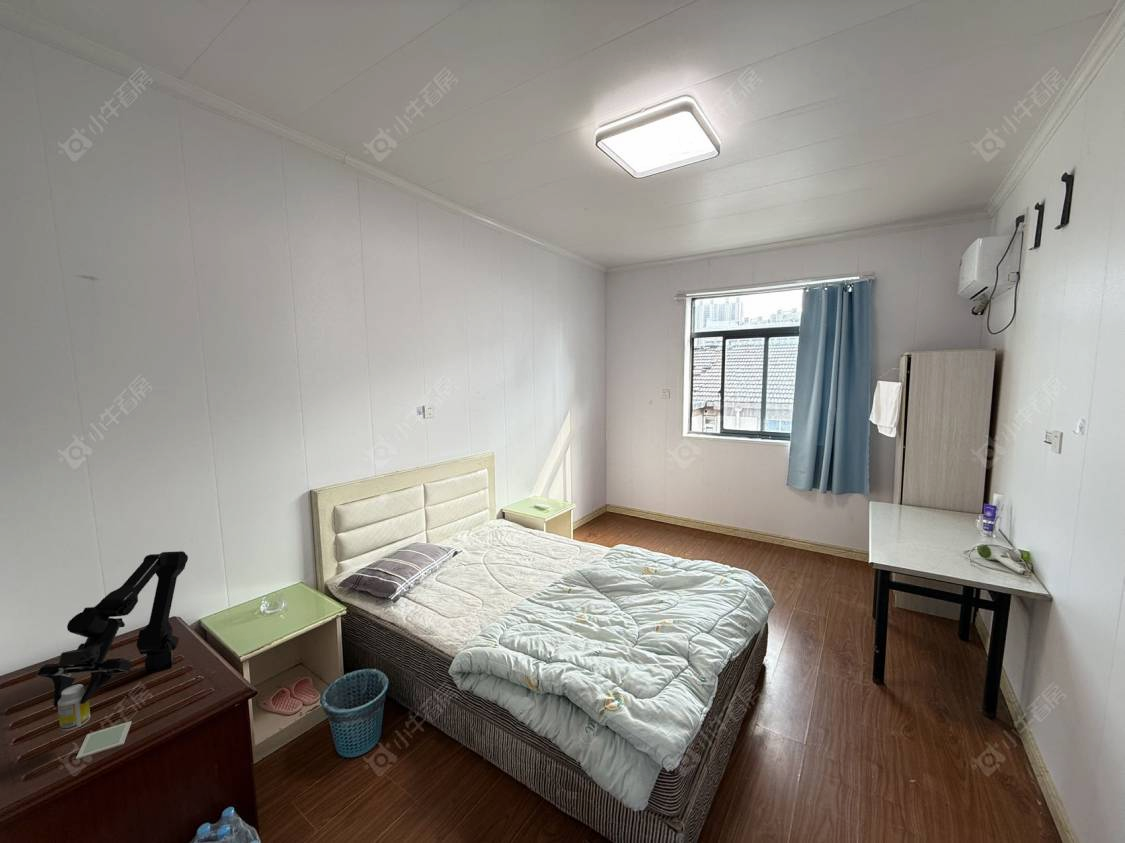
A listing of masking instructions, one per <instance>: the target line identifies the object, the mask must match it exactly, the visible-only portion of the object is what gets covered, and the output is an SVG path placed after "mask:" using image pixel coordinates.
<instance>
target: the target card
mask: <svg viewBox="0 0 1125 843" xmlns="http://www.w3.org/2000/svg"><path fill="white" fill-rule="evenodd" d="M131 724H132V720H130V721H126V722H123V723H120V724H116V725H113V726H111V727H107V728H103V729H101V730H97V731H94V732H91V733H87V734H86V736H85V738H84V740H83V743H82V744H81V746H80V749H79V751H78V753H77V755H76V757H75V760H79V759H83V758H85V757H89V756H92V755H95V754H98V753H101V752H104V751H107V750H111V749H113V748H117V747H119V746H123V745H124V744H125V742H126V738H127V736H128V734H129V732H130V731H129V730H130V728H131Z"/></svg>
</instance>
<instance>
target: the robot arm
mask: <svg viewBox="0 0 1125 843" xmlns="http://www.w3.org/2000/svg"><path fill="white" fill-rule="evenodd" d="M188 560H189V557H188V554H187V553H186V552H185V551H183V550H181V551H179V550H178V551H161V553H154V554H147V555H146V556H144V558H143V561H142V562H141V563H140V565H139V566H138V567H137V568H136V570H134V572H133V573H132V574H131V575H130V576H129V577H128V579H126V580H125V582H124V583H123V584H122V585H121V586H120V587H118V588H117V589H115V590H113V591H111V592H109V593H108V594H107V595H105V597H103V598H102V599H101V600H100V602H99V603H97V604H96V605H94V606H91V607H89V606H87V607H85V608H83V611H82V612H81V611H80V612H78V613H77V614H76V615H74V616H72V618H71V619H70V620H69V621H68V623H67V625H66V628H67V632H69V633H72V634H75V635H77V636H80V637H84V638H86V641H85V642H84V643H83V642H82V643H80V644H79V646H78V647H77V648H76V649H72V650H68V651H63V652H61V653H60V658H59V662H57V663H47V664H44V665H43V666H40V667H39V668H38V671H37V673H36V675H35V677H40V678H44V679H49V680H52V682H53V685H54V693H53V694H54V696H53V707H58V701H59V699H60V698H61V693H62V691H63V690H64V689H66V688H68V687H70V686H73V685H72V684H73V683H74V682H75V680H76V678H75V677H73V676H72V674H79V673H90V681H89V683H88V685H87V687H86V689H85V690H86V691H85V693H84V695H83V697H82V700H81V704H85V703H86V702H87V701H88V700H89V701H90V698H92V697H93V696H94V694H96V692H98V690H99V689H101V687H103V686H104V684H106V683H107V682H108V681H109V680H111V678H114V677H116V676H117V674H122V673H123V674H124V673H129V672H130V671H131V668H132V666H133V664H132V663H133V662H132V661H131V660H129V659H125V658H123V657H119V658H108V659H106V657H107V655H108V652H109V651H112V650H113V649H114V646H115V645H113V642H114V640H115V637H116V636H117V633H118V631H119V629H120V628H125V626H126V624H125V622H124V621H123V618H122V617H125V616H128V615H129V614H130V613H131V612H133V610H134V609H135V607H136V605H137V603H139V594H140V593H141V591H142V590H143V589H144V587H146V586H147V584H148V583H149V582H150V581H151V579H152V578H153V577H154V575H156V576H157V583H156V588H155V593H154V598H153V603H152V607H151V612H150V617H149V621H148V624H147V625H146V626H145V627H144V628H141V629H140V630H139V632H138V638H137V640H136V648H137V650H138V651H139V652H138V653H139V654H140V655H145V658H144V666H145V668H144V669H145V671H146V672H145V674H146V675H149V674H153V673H157V672H160V671H164V670H167V669H172V667H173V664H174V662H175V656H174V650H175V649H177V647H178V645H179V641H180V640H179V637H177V636H175V635H173V627H172V625H171V624H170V621H169V618H170V615H171V614H170V613H171V609H172V604H173V599H174V594H175V590H176V584H177V580H178V579H177V578H178V576H180V574H181V573H182V572H183V571H184V570H185V568H186V564H187V562H188ZM113 617H115V618H113ZM116 617H119V618H116ZM105 659H106V660H105ZM71 676H72V677H71Z"/></svg>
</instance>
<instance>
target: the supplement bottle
mask: <svg viewBox="0 0 1125 843" xmlns="http://www.w3.org/2000/svg"><path fill="white" fill-rule="evenodd" d="M85 691H86V689H85V688H84V685H83V684H78V683H77V684H73V685H71V686H70V687H68V688H66V689H64V690H63V691H62V693H61V698H60V699H59V701H58V706H57V712H58V713H57V714H58V722H59V729H60V730H61V731H64V732H65V731H72V730H75V729H77V728H79V727H81V726H83V725H85V724H86V723H87V722H89V720H90V718H91V711H90V709H91V708H90V699H89V700H88V701H87V702H86V703H85V704H81V700H82V697H83V695H84V693H85Z"/></svg>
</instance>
